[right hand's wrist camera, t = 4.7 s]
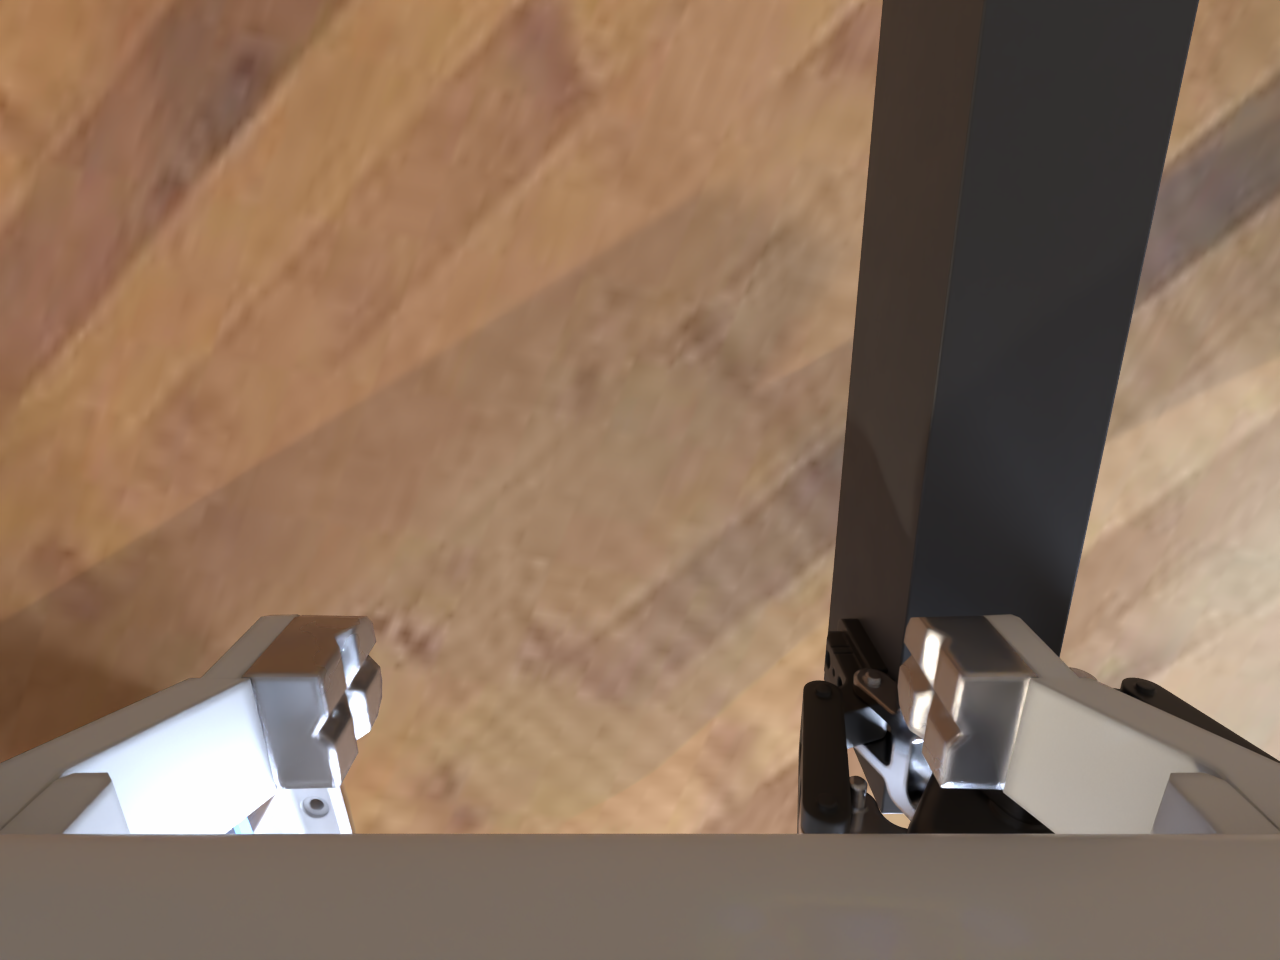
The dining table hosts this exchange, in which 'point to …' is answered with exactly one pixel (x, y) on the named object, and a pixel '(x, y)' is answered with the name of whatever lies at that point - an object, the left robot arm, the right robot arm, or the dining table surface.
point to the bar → (995, 302)
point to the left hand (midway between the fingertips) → (918, 639)
